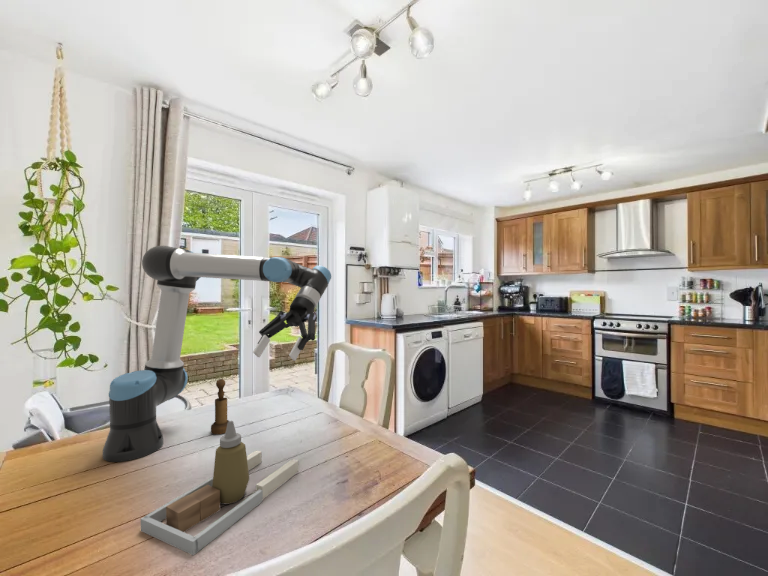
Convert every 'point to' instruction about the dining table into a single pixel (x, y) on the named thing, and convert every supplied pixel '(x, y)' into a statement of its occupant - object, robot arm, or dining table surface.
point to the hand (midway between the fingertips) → (273, 356)
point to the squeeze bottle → (231, 467)
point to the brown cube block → (183, 513)
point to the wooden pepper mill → (220, 410)
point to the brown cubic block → (207, 501)
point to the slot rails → (275, 478)
